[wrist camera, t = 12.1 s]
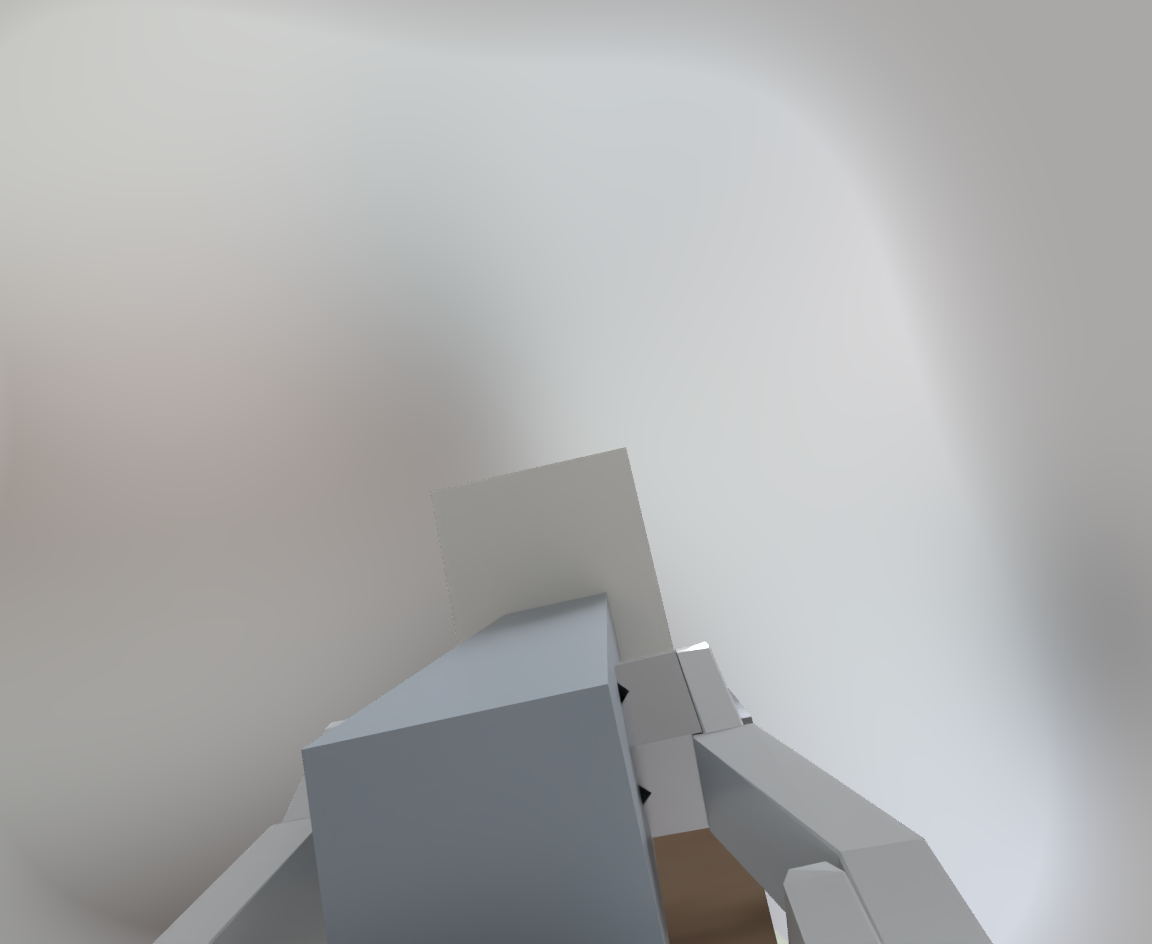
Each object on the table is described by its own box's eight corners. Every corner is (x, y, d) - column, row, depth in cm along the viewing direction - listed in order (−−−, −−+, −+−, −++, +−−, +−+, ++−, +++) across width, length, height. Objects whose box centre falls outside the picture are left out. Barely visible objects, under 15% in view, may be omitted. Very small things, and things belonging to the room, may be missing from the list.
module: (856, 1006, 5) (662, 262, 6) (184, 1139, 5) (115, 389, 6) (658, 643, 22) (619, 477, 23) (514, 675, 22) (482, 508, 23)
